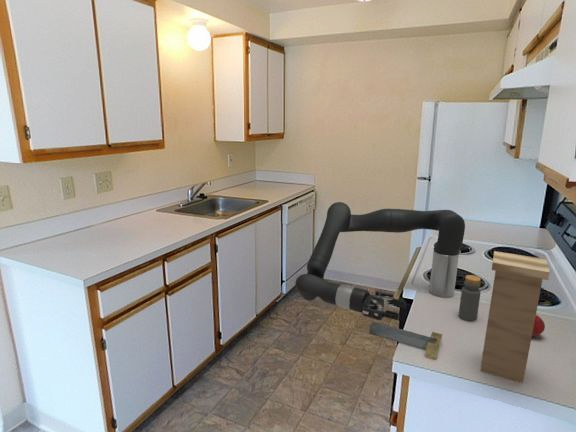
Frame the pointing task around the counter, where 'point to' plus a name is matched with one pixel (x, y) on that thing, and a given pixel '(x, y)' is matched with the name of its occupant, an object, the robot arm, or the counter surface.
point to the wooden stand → (512, 314)
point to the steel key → (409, 338)
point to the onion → (538, 326)
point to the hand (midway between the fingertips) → (402, 310)
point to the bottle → (470, 298)
